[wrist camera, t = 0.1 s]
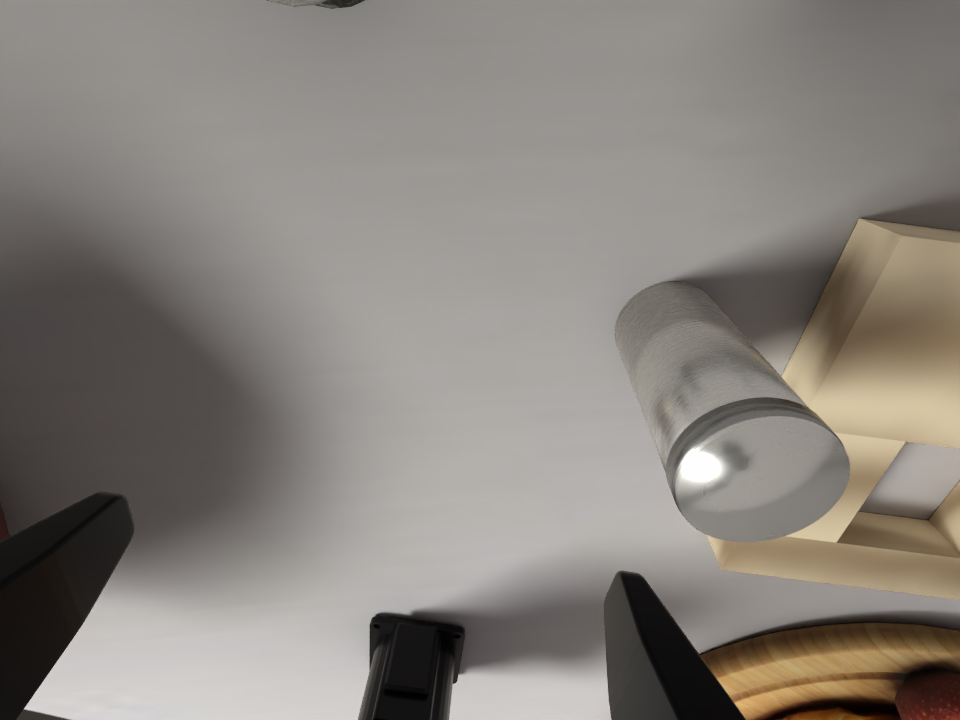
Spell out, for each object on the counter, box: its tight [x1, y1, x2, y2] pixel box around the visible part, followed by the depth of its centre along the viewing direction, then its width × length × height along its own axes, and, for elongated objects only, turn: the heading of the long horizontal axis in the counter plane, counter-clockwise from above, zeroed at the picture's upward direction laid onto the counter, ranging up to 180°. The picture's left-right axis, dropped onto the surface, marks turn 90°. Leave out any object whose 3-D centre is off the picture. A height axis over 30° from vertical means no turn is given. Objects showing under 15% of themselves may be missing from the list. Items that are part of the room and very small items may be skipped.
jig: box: [707, 219, 960, 600], centre depth 23 cm, size 18×16×2 cm
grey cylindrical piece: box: [615, 282, 850, 542], centre depth 18 cm, size 5×5×10 cm
